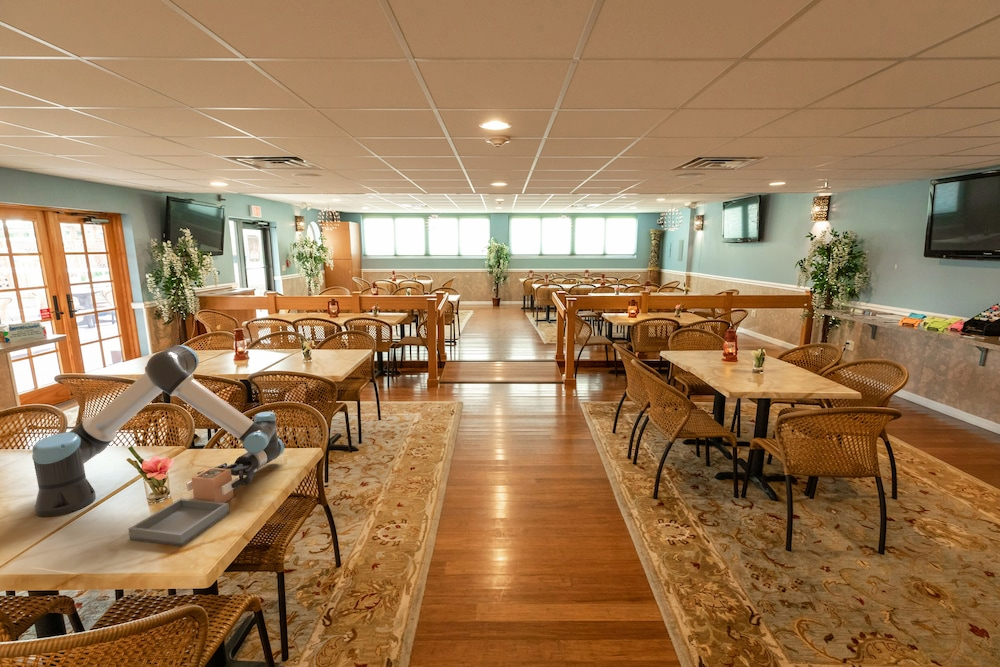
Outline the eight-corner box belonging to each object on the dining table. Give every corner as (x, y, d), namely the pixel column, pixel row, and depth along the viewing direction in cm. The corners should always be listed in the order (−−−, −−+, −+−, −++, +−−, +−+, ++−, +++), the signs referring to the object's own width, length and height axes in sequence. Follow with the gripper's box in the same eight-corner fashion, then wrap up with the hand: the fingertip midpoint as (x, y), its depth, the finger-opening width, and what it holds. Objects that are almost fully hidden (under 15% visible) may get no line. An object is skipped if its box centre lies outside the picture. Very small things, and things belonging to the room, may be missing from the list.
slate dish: (130, 539, 139) (128, 528, 138) (182, 508, 156) (180, 498, 156) (182, 546, 135) (180, 535, 135) (229, 513, 153) (228, 503, 152)
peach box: (194, 506, 158) (191, 475, 156) (213, 494, 165) (210, 464, 164) (215, 508, 156) (212, 476, 154) (233, 496, 164) (230, 466, 162)
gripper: (281, 474, 175) (239, 502, 155) (222, 468, 180) (174, 496, 160) (279, 454, 174) (236, 481, 154) (220, 450, 179) (172, 475, 159)
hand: (205, 489), depth 157 cm, fingers open, 13 cm apart
